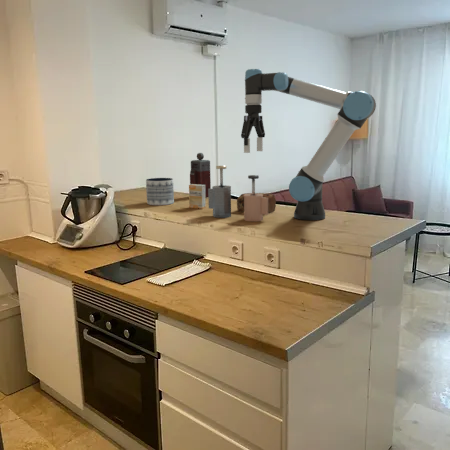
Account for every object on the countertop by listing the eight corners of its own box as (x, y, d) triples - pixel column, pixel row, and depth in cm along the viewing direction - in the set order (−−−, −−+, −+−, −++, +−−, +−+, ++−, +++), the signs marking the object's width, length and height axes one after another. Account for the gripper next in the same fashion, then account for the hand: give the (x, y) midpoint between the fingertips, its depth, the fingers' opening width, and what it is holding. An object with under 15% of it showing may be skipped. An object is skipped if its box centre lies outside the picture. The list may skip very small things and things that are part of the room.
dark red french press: (188, 197, 298) (187, 153, 292) (201, 195, 306) (200, 152, 300) (198, 198, 292) (197, 153, 286) (211, 196, 300) (210, 152, 295)
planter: (179, 202, 280) (178, 178, 277) (162, 206, 267) (161, 181, 264) (159, 200, 288) (158, 177, 285) (141, 204, 275) (140, 180, 272)
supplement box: (189, 208, 259) (188, 184, 256) (192, 206, 263) (192, 183, 261) (202, 209, 256) (201, 185, 253) (206, 207, 260) (205, 184, 258)
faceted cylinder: (214, 213, 243) (213, 184, 240) (234, 215, 237) (234, 186, 233) (204, 216, 235) (203, 186, 232) (225, 218, 229) (224, 188, 226)
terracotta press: (249, 216, 232) (249, 193, 229) (271, 219, 226) (271, 194, 223) (240, 220, 224) (240, 195, 222) (263, 222, 218) (263, 197, 216)
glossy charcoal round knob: (251, 198, 227) (251, 174, 225) (260, 199, 225) (260, 175, 222) (246, 200, 223) (246, 176, 221) (255, 201, 220) (255, 176, 218)
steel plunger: (220, 190, 236) (219, 165, 233) (228, 191, 233) (228, 165, 231) (214, 191, 232) (214, 166, 229) (223, 192, 229) (222, 166, 227)
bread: (276, 211, 246) (276, 192, 244) (266, 214, 238) (266, 195, 236) (246, 208, 257) (246, 190, 254) (235, 211, 248) (235, 193, 246)
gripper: (258, 105, 226) (258, 150, 231) (233, 104, 206) (233, 153, 211) (272, 105, 222) (271, 150, 227) (247, 103, 202) (248, 153, 207)
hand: (253, 152), depth 219 cm, fingers open, 12 cm apart
